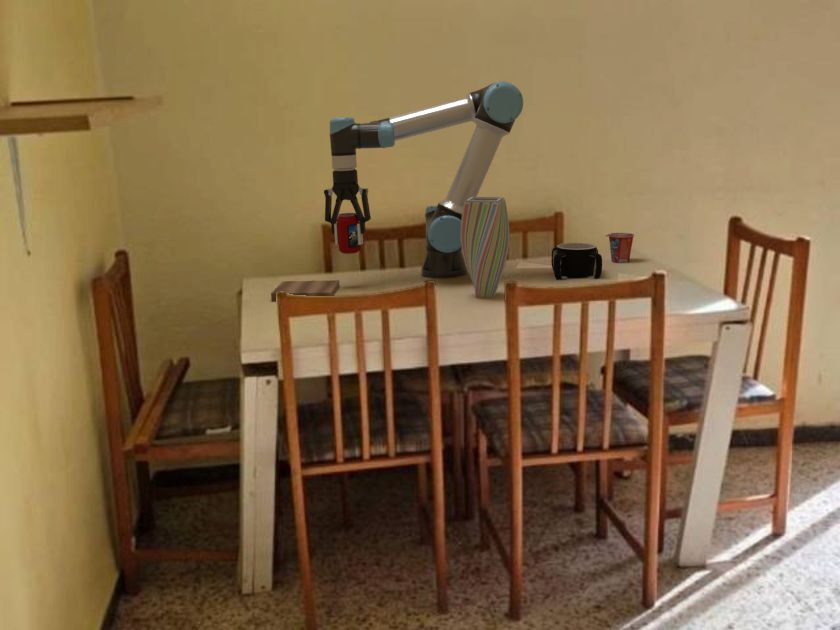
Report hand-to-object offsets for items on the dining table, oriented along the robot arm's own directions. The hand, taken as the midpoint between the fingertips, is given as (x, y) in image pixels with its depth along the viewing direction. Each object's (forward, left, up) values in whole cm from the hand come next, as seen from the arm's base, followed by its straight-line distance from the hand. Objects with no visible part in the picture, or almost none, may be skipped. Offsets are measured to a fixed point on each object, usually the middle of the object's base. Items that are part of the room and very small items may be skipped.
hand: (349, 244), depth 277 cm
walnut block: (+11, +9, -15) cm, 21 cm away
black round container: (-69, -17, -15) cm, 72 cm away
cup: (-82, -40, -15) cm, 92 cm away
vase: (-45, +13, -15) cm, 49 cm away
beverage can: (0, 0, -3) cm, 3 cm away
